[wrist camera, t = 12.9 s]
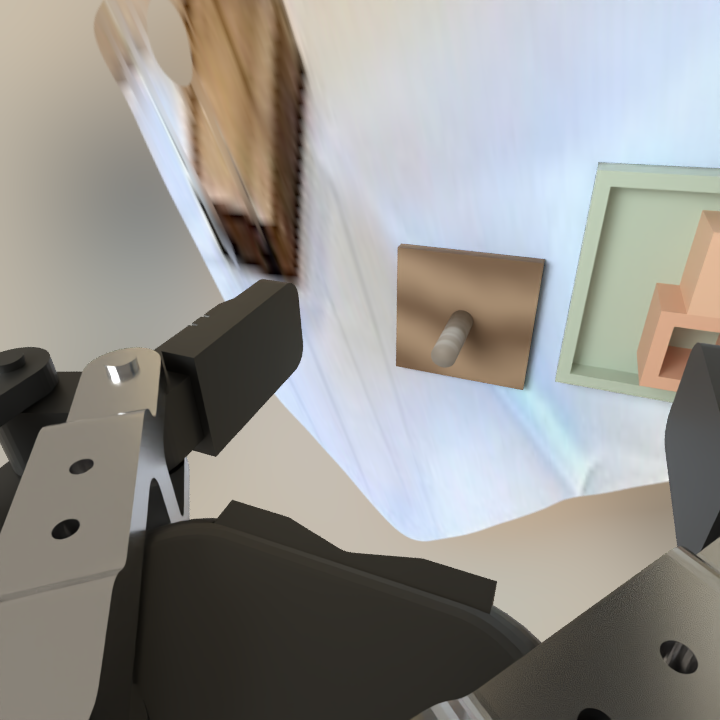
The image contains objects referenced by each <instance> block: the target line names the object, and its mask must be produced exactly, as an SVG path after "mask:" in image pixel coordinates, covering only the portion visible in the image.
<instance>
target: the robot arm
mask: <svg viewBox="0 0 720 720" xmlns="http://www.w3.org/2000/svg"><path fill="white" fill-rule="evenodd" d="M302 352H303V339H302V329H301V318H300V308H299V297H298V292H297V289H296V287H295V285H294V284H292V283H286V282H279V281H272V280H265V279H261V280H259V281H258V282H256V283H255V284H253V285H252V286H251V287H249V288H248V289H246V290H245V291H244V292H242V293H241V294H240V295H238V296H237V297H235V298H233V299H231V300H228V301H226V302H223V303H221V304H218V305H217V306H216V307H214V308H213V309H211V310H210V311H209V312H207V313H206V314H204V317H200V318H199V319H197V320H196V321H194V322H193V323H192V326H190V325H189V326H188V327H186V328H185V329H183V330H182V331H180V332H179V333H178V334H176V335H175V336H174V337H172V338H170V339H169V340H168V341H166V342H165V343H163V344H162V345H161V346H159V347H158V348H156V349H155V350H152V349H148V348H140V347H134V348H124V349H119V350H115V351H112V352H109V353H106V354H104V355H102V356H99V357H98V358H96V359H94V360H93V361H91V362H90V363H89V364H88V365H87V366H86V367H85V368H84V370H83V372H56V370H55V367H54V364H53V362H52V359H51V357H50V354H49V353H48V352H47V351H46V350H44V349H41V348H36V347H25V348H16V349H11V350H7V351H3V352H0V443H1V445H2V448H3V450H4V452H5V454H6V456H7V458H8V460H9V462H8V463H6V464H5V465H3V466H2V467H1V468H0V720H720V345H714V344H707V343H700V342H698V343H696V344H695V345H694V347H693V348H692V350H691V353H690V355H689V358H688V361H687V364H686V367H685V369H684V372H683V375H682V378H681V381H680V384H679V387H678V390H677V392H676V395H675V398H674V401H673V404H672V407H671V410H670V413H669V416H668V420H667V425H666V431H665V452H666V459H667V467H668V475H669V483H670V491H671V499H672V506H673V515H674V523H675V531H676V539H677V547H676V548H674V549H672V550H670V551H668V552H667V553H665V555H663V556H661V557H660V558H659V559H657V560H656V561H654V562H653V563H652V564H650V565H649V566H648V567H646V568H645V569H644V570H642V571H641V572H639V573H638V574H636V575H635V576H634V577H632V578H631V579H630V580H628V581H627V582H626V583H624V584H623V585H621V586H620V587H618V588H617V589H616V590H614V591H613V592H611V593H610V594H609V595H607V596H606V597H605V598H603V599H602V600H600V601H599V602H598V603H596V604H595V605H593V606H592V607H591V608H589V609H588V610H587V611H585V612H584V613H582V614H581V615H580V616H578V617H577V618H575V619H574V620H573V621H571V622H570V623H569V624H567V625H566V626H564V627H563V628H562V629H560V630H559V631H558V632H556V633H555V634H553V635H552V636H551V637H549V638H548V639H546V640H545V641H544V642H542V643H541V642H540V641H539V640H538V639H537V638H536V637H535V636H534V635H533V634H531V632H530V631H528V630H527V629H526V628H525V627H524V626H523V625H521V624H520V623H519V622H517V621H516V620H515V619H513V618H512V617H511V616H509V615H508V614H506V613H505V612H503V611H502V610H500V609H498V608H497V607H495V606H493V601H494V596H495V590H496V584H497V581H494V580H490V579H487V578H484V577H481V576H477V575H474V574H471V573H468V572H465V571H461V570H458V569H454V568H452V567H448V566H445V565H442V564H439V563H435V562H432V561H429V560H425V559H421V558H409V557H397V556H384V555H373V554H361V553H351V552H346V551H343V550H341V549H339V548H338V547H336V546H334V545H333V544H331V543H329V542H328V541H326V540H325V539H323V538H321V537H320V536H318V535H317V534H315V533H313V532H311V531H310V530H308V529H307V528H305V527H304V526H302V525H300V524H299V523H297V522H295V521H294V520H292V519H291V518H289V517H286V516H283V515H280V514H276V513H273V512H270V511H267V510H263V509H260V508H257V507H253V506H250V505H247V504H244V503H241V502H237V501H234V500H232V501H231V502H230V503H229V504H228V506H227V507H226V508H225V509H224V511H223V512H222V513H221V514H220V516H219V517H218V518H203V519H191V520H189V464H188V460H187V455H188V454H189V453H190V452H191V451H192V450H193V451H197V452H201V453H204V454H208V455H211V456H215V457H216V456H217V455H218V454H219V453H220V452H221V451H222V450H223V449H224V447H225V446H226V445H227V444H228V443H229V442H230V441H231V439H232V438H234V436H235V435H236V434H237V433H238V432H239V431H240V430H241V429H242V428H243V427H244V426H245V425H246V423H247V422H248V421H249V420H250V419H251V418H252V417H253V416H254V415H255V414H256V412H257V411H258V410H259V409H260V408H261V407H262V406H263V405H264V404H265V403H266V402H267V400H269V398H270V397H271V396H272V395H273V394H274V393H275V392H276V391H277V390H278V389H279V388H280V386H281V385H282V384H283V383H284V382H285V381H286V380H287V379H288V378H289V377H290V376H291V374H292V373H293V372H294V371H295V370H296V369H297V367H298V365H299V363H300V361H301V357H302Z"/></svg>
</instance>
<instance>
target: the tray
mask: <svg viewBox="0 0 720 720" xmlns="http://www.w3.org/2000/svg"><path fill="white" fill-rule="evenodd" d="M702 210H711V211H720V168H702V167H681V166H661V165H641V164H621V163H600V162H599V163H598V168H597V173H596V178H595V183H594V188H593V193H592V198H591V202H590V207H589V212H588V217H587V222H586V227H585V232H584V237H583V242H582V247H581V252H580V257H579V262H578V267H577V272H576V277H575V282H574V287H573V292H572V297H571V302H570V307H569V312H568V317H567V322H566V327H565V332H564V337H563V342H562V347H561V352H560V357H559V362H558V367H557V373H556V379H555V382H561V383H567V384H572V385H578V386H583V387H589V388H594V389H600V390H605V391H611V392H616V393H622V394H628V395H633V396H639V397H644V398H650V399H655V400H661V401H666V402H672V403H673V401H674V398H675V395H676V392H674V391H668V390H662V389H656V388H651V387H645V386H639V376H638V363H637V349H638V346H639V342H640V339H641V335H642V332H643V328H644V325H645V321H646V318H647V314H648V311H649V307H650V304H651V300H652V297H653V293H654V290H655V286H656V283H664V284H673V285H680V281H681V278H682V275H683V272H684V269H685V265H686V262H687V259H688V256H689V252H690V249H691V246H692V243H693V239H694V236H695V233H696V230H697V227H698V223H699V220H700V217H701V214H702ZM718 336H719V333H718V332H710V331H703V330H696V329H688V328H681V327H674V329H673V332H672V335H671V338H670V341H669V344H668V346H674V347H681V348H688V349H692V348H693V347H694V345H695V344H696V343H698V342H700V343H707V344H714V345H715V344H716V341H717V338H718Z"/></svg>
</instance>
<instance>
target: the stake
mask: <svg viewBox="0 0 720 720" xmlns="http://www.w3.org/2000/svg"><path fill="white" fill-rule="evenodd" d="M544 262H545V259H538V258H529V257H519V256H510V255H501V254H492V253H483V252H473V251H464V250H455V249H446V248H437V247H427V246H418V245H409V244H401V245H400V246H399V247H398V266H397V340H396V366H399V367H404V368H409V369H415V370H420V371H425V372H430V373H436V374H441V375H446V376H452V377H457V378H462V379H468V380H473V381H478V382H483V383H489V384H494V385H499V386H505V387H510V388H515V389H520V390H523V387H524V383H525V377H526V371H527V365H528V359H529V353H530V347H531V341H532V335H533V328H534V322H535V316H536V310H537V304H538V298H539V292H540V286H541V280H542V274H543V268H544Z"/></svg>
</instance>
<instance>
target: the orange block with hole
mask: <svg viewBox="0 0 720 720" xmlns="http://www.w3.org/2000/svg"><path fill="white" fill-rule="evenodd" d="M674 327H681V328H688V329H696V330H703V331H710V332H718V333H719V336H718V338H717V341H716V344H715V345H720V211H711V210H702V214H701V217H700V220H699V223H698V227H697V230H696V233H695V236H694V239H693V243H692V246H691V249H690V252H689V256H688V259H687V262H686V265H685V269H684V272H683V275H682V278H681V281H680V285H673V284H664V283H656V286H655V290H654V293H653V297H652V300H651V304H650V307H649V311H648V314H647V318H646V321H645V325H644V328H643V332H642V335H641V339H640V342H639V346H638V349H637V363H638V376H639V386H645V387H651V388H656V389H662V390H668V391H674V392H677V390H678V387H679V384H680V381H681V378H682V375H683V372H684V369H685V367H686V364H687V361H688V358H689V355H690V353H691V350H692V349H688V348H681V347H674V346H668V344H669V341H670V338H671V335H672V332H673V329H674Z"/></svg>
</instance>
